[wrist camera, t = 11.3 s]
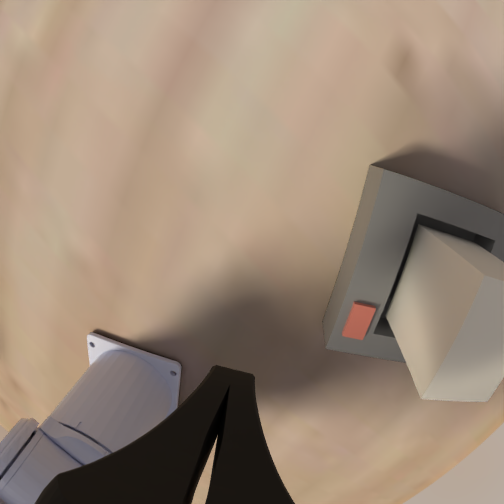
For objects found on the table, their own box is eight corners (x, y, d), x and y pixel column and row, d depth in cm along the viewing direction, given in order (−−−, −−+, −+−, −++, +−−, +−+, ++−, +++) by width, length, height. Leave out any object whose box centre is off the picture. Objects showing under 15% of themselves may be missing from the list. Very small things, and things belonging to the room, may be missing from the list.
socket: (502, 213, 16) (530, 227, 13) (448, 345, 20) (465, 372, 16) (369, 164, 17) (385, 169, 14) (322, 321, 20) (325, 351, 17)
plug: (465, 236, 16) (546, 294, 9) (433, 316, 18) (487, 401, 10) (411, 219, 17) (484, 275, 9) (380, 305, 18) (420, 398, 11)
